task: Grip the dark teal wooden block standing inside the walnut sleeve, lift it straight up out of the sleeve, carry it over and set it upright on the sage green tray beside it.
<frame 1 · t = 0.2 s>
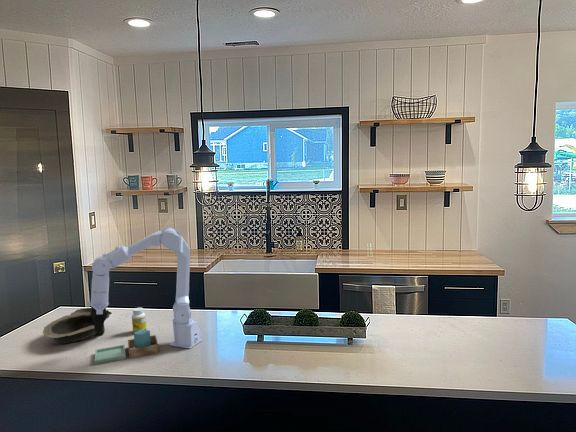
hand: (98, 327, 159), 11 cm above the countertop, tool pointing down, fingers open, 7 cm apart
supplement bottle: (140, 332, 183), on the countertop
sleeve: (143, 350, 164), on the countertop
block: (142, 341, 164), in the sleeve
tray: (110, 356, 160), on the countertop
stone bowl: (78, 338, 179), on the countertop
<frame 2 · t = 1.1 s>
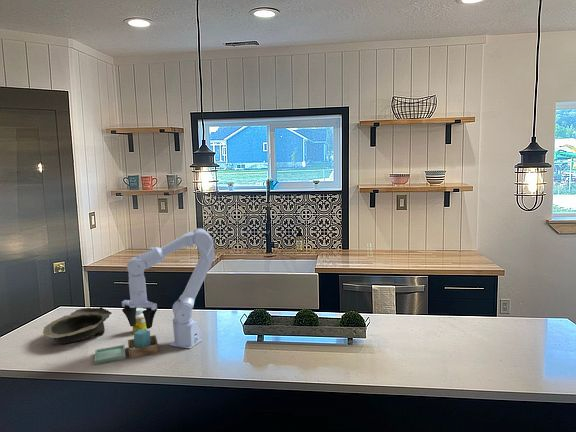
hand: (141, 326, 163), 9 cm above the countertop, tool pointing down, fingers open, 7 cm apart
nothing on the countertop moved.
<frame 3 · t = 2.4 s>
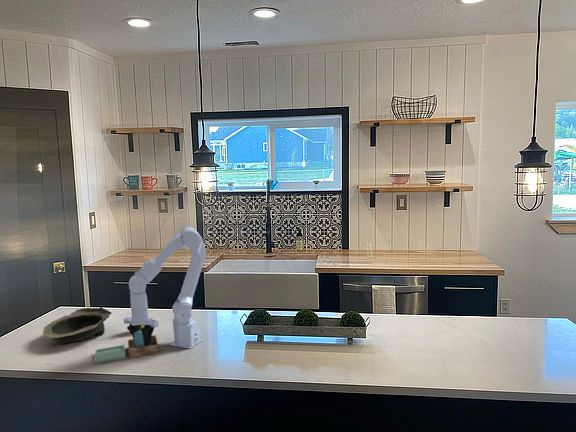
hand: (142, 343, 164), 2 cm above the countertop, tool pointing down, fingers closed on block, 4 cm apart
block: (142, 341, 164), in the sleeve, touching gripper
everything else where it was.
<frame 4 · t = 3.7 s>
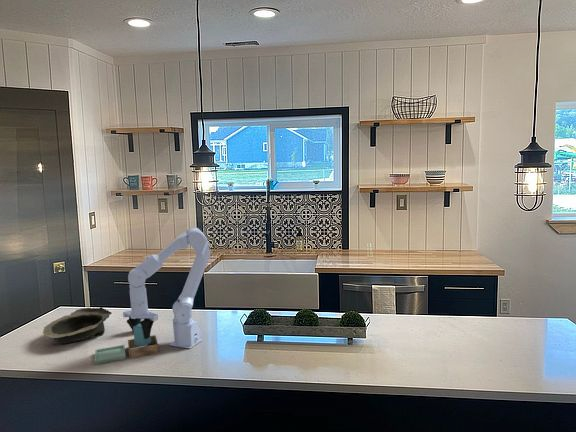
hand: (142, 337, 164), 5 cm above the countertop, tool pointing down, fingers closed on block, 4 cm apart
block: (142, 334, 164), point 6 cm above the countertop, touching gripper
everything else where it was.
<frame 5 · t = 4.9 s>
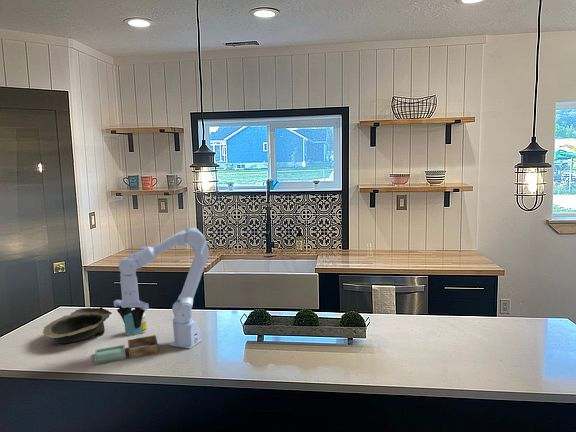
hand: (133, 326, 162), 9 cm above the countertop, tool pointing down, fingers closed on block, 4 cm apart
block: (132, 323, 162), point 11 cm above the countertop, touching gripper
everything else where it was.
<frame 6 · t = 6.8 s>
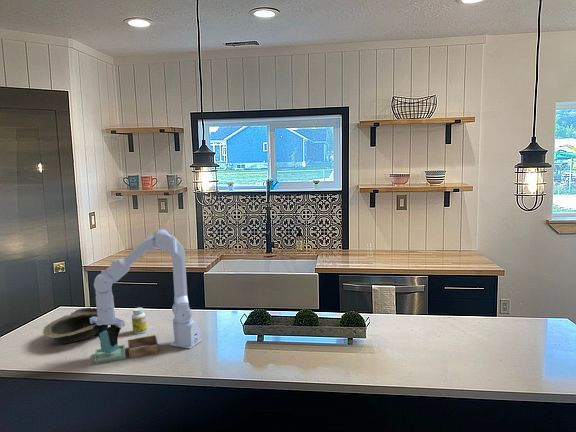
hand: (109, 344, 160), 5 cm above the countertop, tool pointing down, fingers closed on block, 4 cm apart
block: (109, 341, 160), point 6 cm above the countertop, touching gripper
everything else where it was.
when the fingers open (4 cm above the countertop, at t = 7.2 s): block drops 1 cm, resting on tray.
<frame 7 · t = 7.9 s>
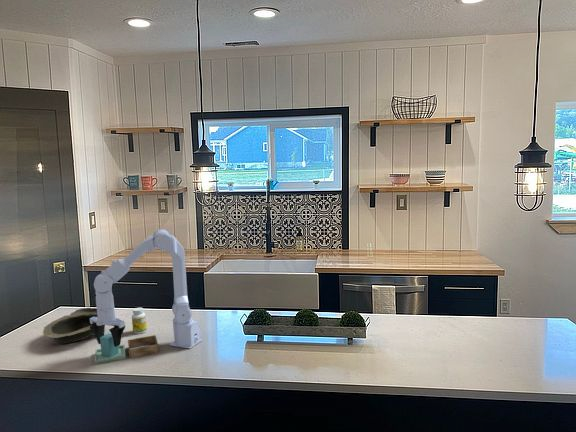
hand: (109, 344, 160), 4 cm above the countertop, tool pointing down, fingers open, 7 cm apart
block: (109, 345, 160), point 4 cm above the countertop, touching tray
everything else where it was.
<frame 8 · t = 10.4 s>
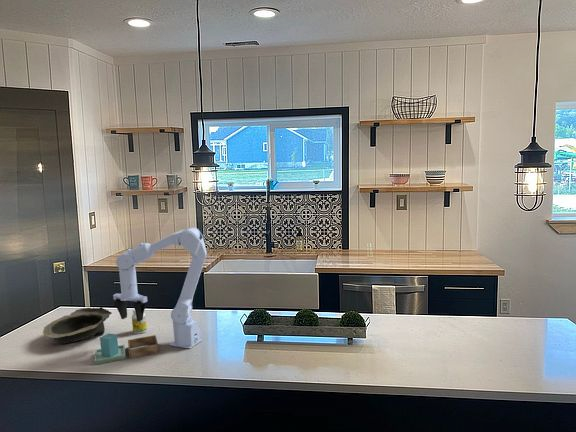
hand: (132, 319, 167), 10 cm above the countertop, tool pointing down, fingers open, 7 cm apart
nothing on the countertop moved.
at the end: block 0.0 cm off-centre on the tray, point 4.1 cm above the tray's base; block tilted 0°; the gripper is holding nothing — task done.
